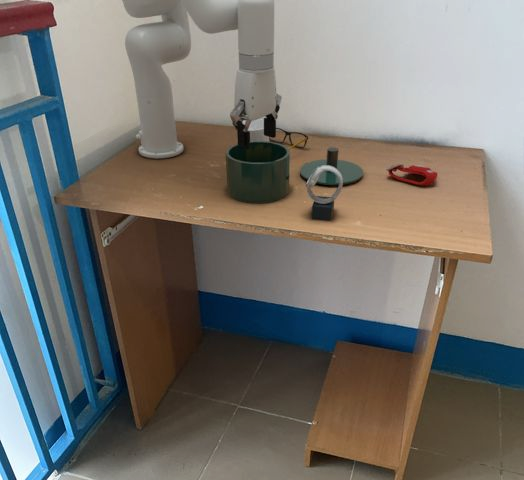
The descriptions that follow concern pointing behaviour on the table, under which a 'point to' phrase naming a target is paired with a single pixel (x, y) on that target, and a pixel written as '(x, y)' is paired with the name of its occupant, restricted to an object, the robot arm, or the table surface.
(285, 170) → the pot
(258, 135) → the white cup
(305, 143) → the eyeglasses
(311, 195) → the watch
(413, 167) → the tracker holder
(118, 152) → the table surface
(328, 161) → the lid
